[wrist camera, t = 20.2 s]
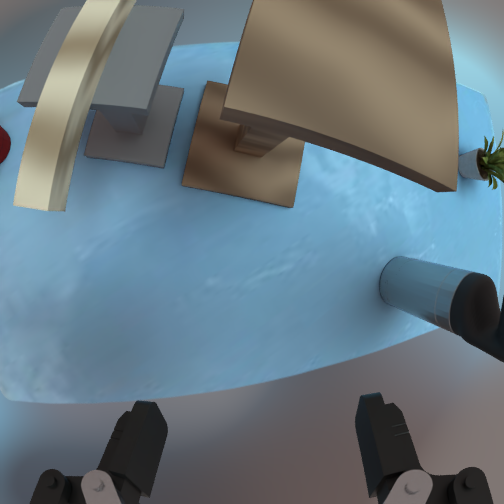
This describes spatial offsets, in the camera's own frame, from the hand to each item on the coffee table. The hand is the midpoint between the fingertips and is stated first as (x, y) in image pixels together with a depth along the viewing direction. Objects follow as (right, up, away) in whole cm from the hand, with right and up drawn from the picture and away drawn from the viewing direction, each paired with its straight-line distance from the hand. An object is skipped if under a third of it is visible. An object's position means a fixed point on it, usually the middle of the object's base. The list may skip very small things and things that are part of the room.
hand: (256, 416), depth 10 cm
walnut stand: (-1, +22, +31) cm, 38 cm away
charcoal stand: (-17, +25, +27) cm, 41 cm away
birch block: (-13, +21, +7) cm, 26 cm away
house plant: (+47, +24, +42) cm, 68 cm away
